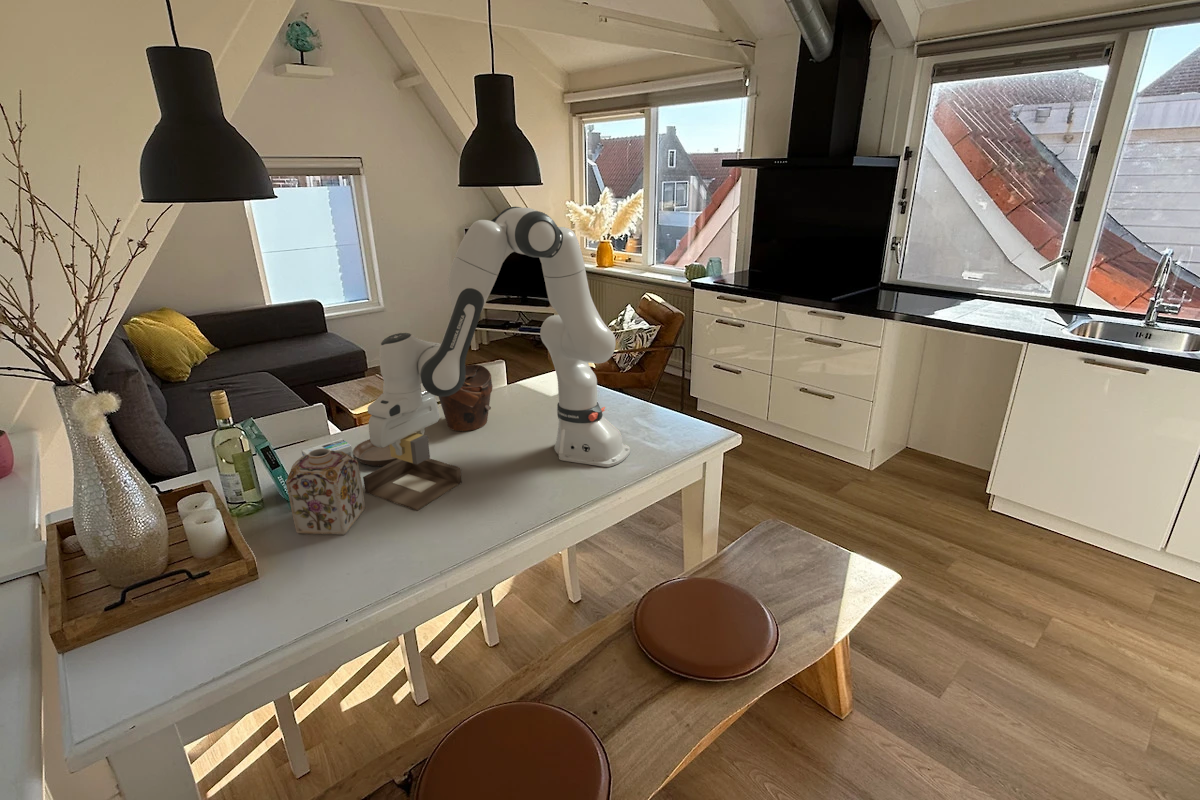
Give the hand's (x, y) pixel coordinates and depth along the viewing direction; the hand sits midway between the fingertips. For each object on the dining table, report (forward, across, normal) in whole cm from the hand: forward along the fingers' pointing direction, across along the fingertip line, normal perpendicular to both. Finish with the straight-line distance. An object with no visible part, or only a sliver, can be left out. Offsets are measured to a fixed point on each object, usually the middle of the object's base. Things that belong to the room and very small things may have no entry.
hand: (409, 449), depth 153 cm
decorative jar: (+11, +22, -4) cm, 25 cm away
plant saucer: (+11, -9, -20) cm, 24 cm away
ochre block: (+2, 0, 0) cm, 2 cm away
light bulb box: (+11, +10, -19) cm, 24 cm away
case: (+10, -38, -15) cm, 42 cm away
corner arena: (+10, +1, +1) cm, 10 cm away
